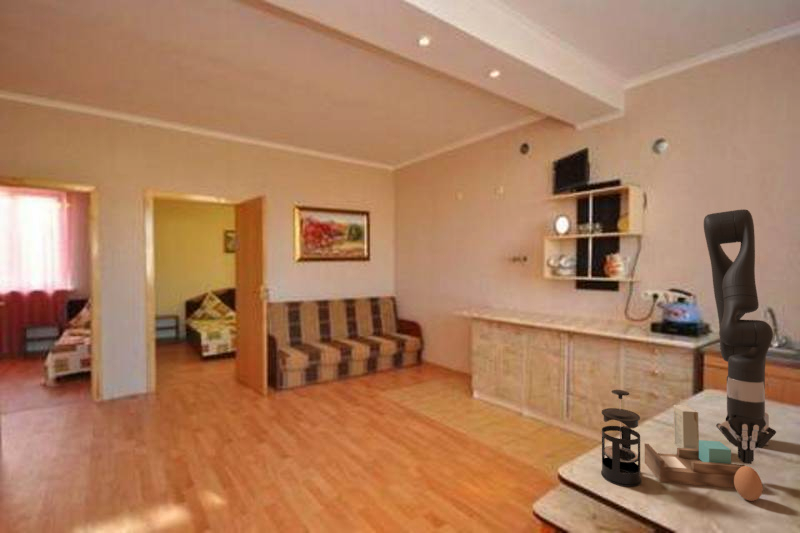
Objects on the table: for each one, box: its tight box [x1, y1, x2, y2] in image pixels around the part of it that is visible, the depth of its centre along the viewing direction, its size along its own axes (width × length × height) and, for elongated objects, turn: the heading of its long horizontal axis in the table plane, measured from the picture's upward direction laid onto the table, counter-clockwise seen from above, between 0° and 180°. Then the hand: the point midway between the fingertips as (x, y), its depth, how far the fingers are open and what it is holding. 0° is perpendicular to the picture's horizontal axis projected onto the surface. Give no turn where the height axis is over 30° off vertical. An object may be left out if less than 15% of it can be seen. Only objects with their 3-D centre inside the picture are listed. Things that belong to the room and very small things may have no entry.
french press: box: [600, 389, 642, 488], centre depth 107 cm, size 12×9×23 cm
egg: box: [734, 465, 763, 502], centre depth 96 cm, size 5×5×8 cm
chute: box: [644, 443, 746, 489], centre depth 108 cm, size 20×10×6 cm, turn 79°
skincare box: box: [673, 404, 700, 449], centre depth 123 cm, size 6×4×12 cm
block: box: [699, 439, 732, 464], centre depth 107 cm, size 5×5×5 cm
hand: (745, 462), depth 105 cm, fingers closed
